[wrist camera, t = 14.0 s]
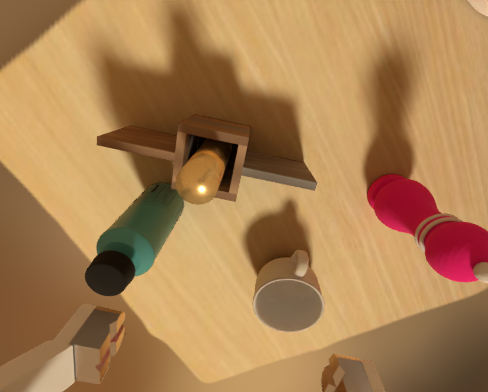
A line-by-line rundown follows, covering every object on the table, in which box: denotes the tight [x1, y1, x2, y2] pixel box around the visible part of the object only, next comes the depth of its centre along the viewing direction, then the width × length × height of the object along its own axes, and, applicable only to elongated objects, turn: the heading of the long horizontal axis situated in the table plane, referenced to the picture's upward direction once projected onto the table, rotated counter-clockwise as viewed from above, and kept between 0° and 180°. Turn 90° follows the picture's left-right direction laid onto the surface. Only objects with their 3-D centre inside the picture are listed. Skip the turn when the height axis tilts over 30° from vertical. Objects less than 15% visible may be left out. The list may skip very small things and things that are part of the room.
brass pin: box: [175, 138, 232, 204], centre depth 33 cm, size 4×4×16 cm
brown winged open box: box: [97, 115, 317, 202], centre depth 36 cm, size 8×26×9 cm, turn 78°
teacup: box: [253, 250, 325, 333], centre depth 44 cm, size 14×11×8 cm
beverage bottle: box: [85, 183, 184, 296], centre depth 34 cm, size 6×7×20 cm
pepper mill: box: [367, 174, 488, 283], centre depth 32 cm, size 7×7×20 cm
